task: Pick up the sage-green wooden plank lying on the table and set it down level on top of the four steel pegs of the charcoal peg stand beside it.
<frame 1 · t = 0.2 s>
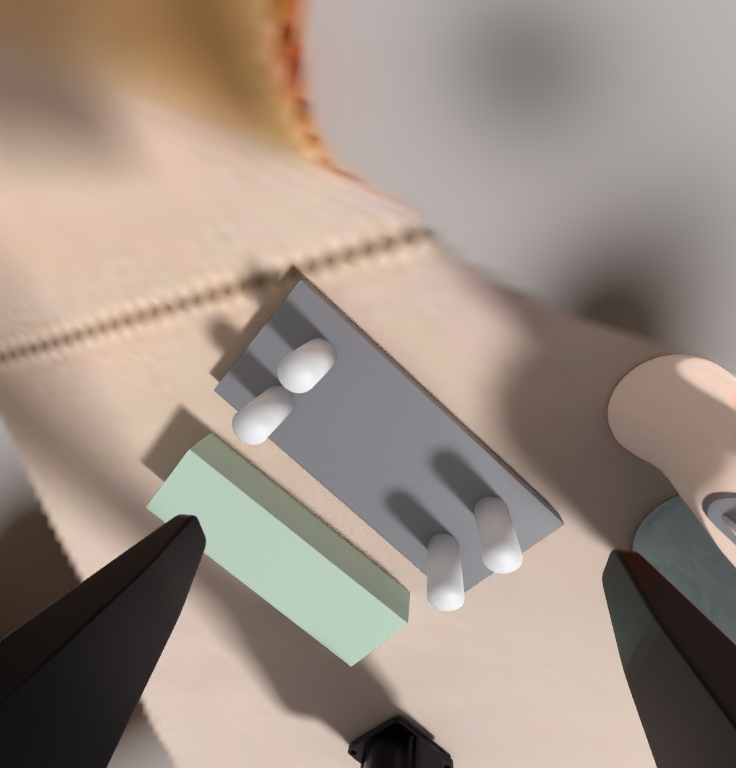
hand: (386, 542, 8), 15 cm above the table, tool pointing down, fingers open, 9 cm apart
plank: (290, 534, 28), on the table
teal cylinder: (704, 548, 23), on the table
peg stand: (386, 448, 25), on the table
beer glass: (664, 406, 21), on the table
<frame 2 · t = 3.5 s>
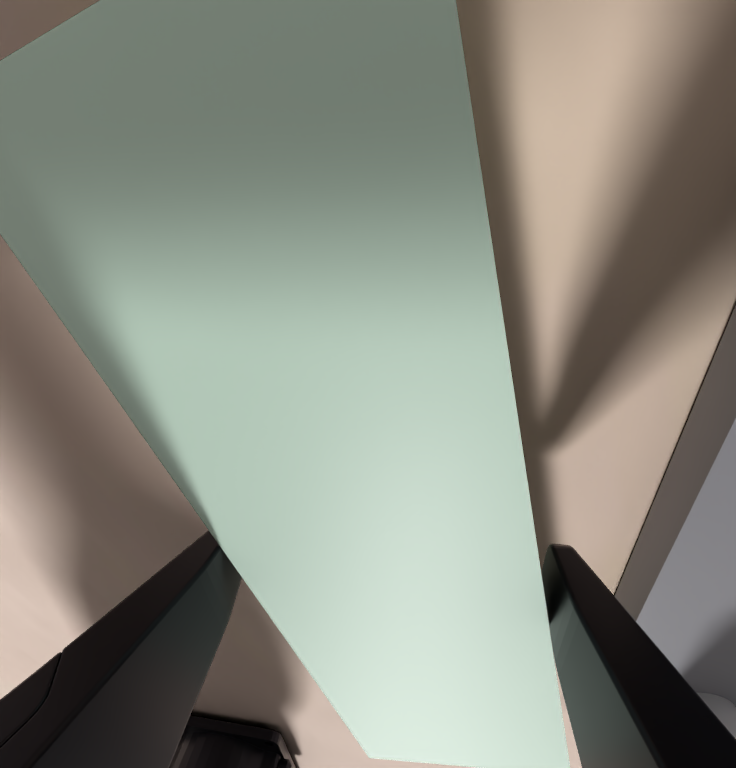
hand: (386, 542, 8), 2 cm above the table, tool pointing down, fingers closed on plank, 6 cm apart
plank: (394, 475, 10), on the table, touching gripper
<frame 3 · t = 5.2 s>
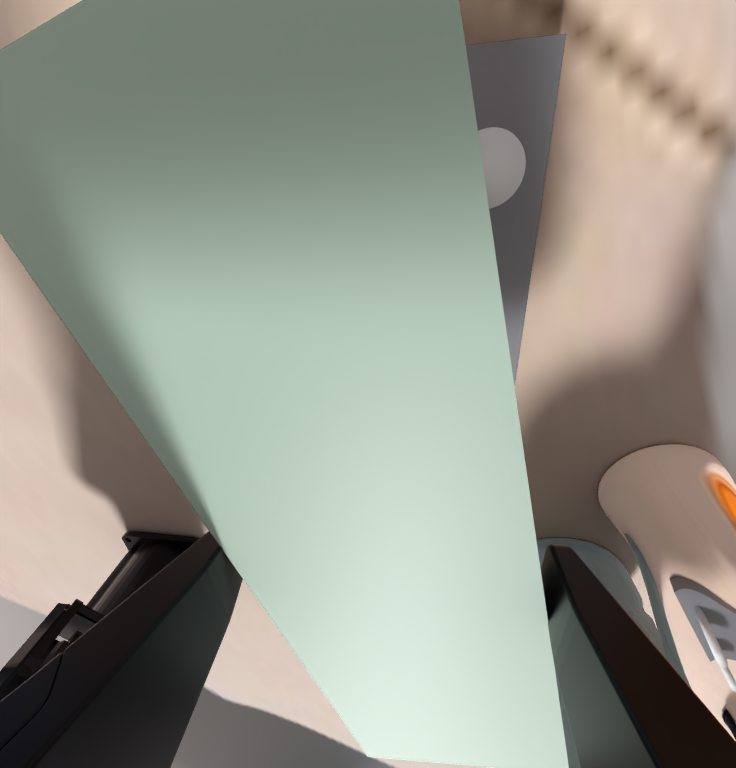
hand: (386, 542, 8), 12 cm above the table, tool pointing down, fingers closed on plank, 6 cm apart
plank: (393, 473, 10), point 10 cm above the table, touching gripper
teal cylinder: (551, 576, 27), on the table
peg stand: (420, 333, 19), on the table
beer glass: (656, 483, 21), on the table
when the fingers open (8 cm above the table, at t = 6.8 s): plank stays where it is, resting on peg stand.
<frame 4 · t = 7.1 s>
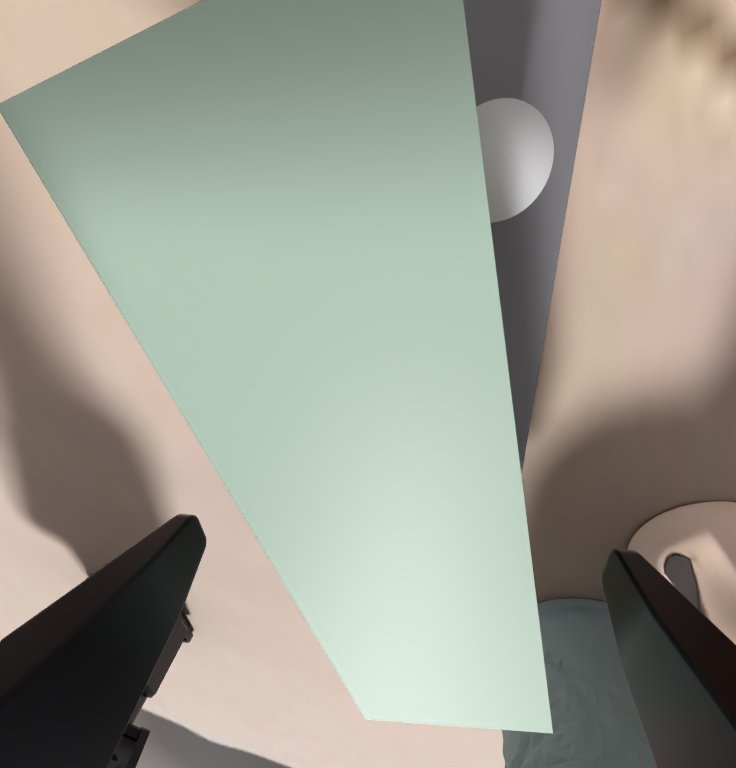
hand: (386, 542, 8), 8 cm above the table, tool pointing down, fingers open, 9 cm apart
plank: (395, 451, 11), point 5 cm above the table, touching peg stand
teal cylinder: (568, 637, 23), on the table
peg stand: (410, 369, 15), on the table
beer glass: (698, 543, 18), on the table
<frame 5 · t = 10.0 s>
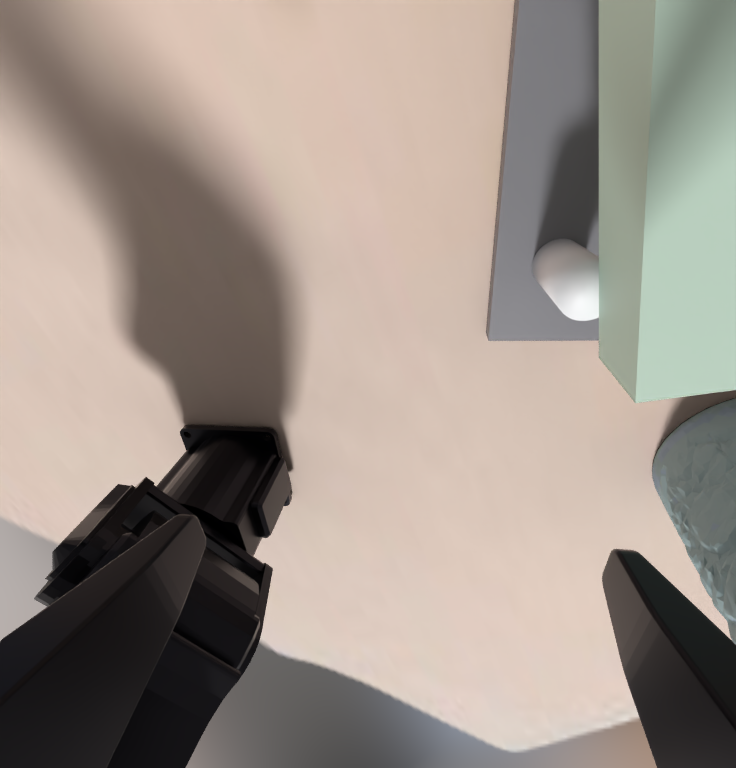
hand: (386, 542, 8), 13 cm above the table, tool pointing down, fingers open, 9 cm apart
teal cylinder: (733, 458, 21), on the table
peg stand: (647, 46, 13), on the table
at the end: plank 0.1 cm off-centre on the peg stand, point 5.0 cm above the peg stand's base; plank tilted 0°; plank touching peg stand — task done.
